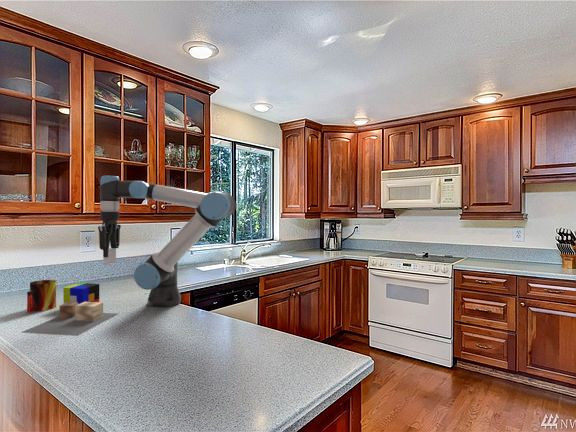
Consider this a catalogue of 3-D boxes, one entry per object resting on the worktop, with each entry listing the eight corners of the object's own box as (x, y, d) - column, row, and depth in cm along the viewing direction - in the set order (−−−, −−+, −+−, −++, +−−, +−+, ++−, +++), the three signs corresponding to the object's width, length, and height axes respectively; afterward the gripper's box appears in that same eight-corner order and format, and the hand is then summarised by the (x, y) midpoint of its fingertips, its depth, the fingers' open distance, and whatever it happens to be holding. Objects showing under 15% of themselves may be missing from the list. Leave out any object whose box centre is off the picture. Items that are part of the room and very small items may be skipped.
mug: (27, 315, 151) (26, 287, 150) (31, 307, 163) (31, 280, 162) (54, 312, 155) (54, 285, 155) (56, 304, 167) (56, 279, 167)
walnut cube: (77, 313, 153) (77, 302, 153) (72, 317, 148) (72, 305, 148) (65, 314, 152) (65, 302, 152) (59, 317, 147) (59, 305, 147)
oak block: (103, 316, 150) (103, 302, 150) (93, 321, 144) (93, 306, 144) (85, 315, 151) (85, 301, 150) (75, 320, 145) (75, 305, 145)
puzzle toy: (83, 311, 158) (83, 288, 157) (63, 309, 160) (63, 287, 159) (99, 305, 168) (99, 284, 167) (80, 303, 170) (80, 282, 169)
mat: (119, 314, 154) (119, 313, 154) (77, 336, 129) (77, 335, 129) (71, 311, 157) (71, 311, 157) (20, 333, 131) (20, 332, 131)
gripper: (112, 210, 169) (112, 260, 169) (89, 211, 152) (89, 266, 153) (128, 210, 168) (128, 260, 169) (106, 211, 151) (106, 267, 152)
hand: (109, 263), depth 161 cm, fingers open, 4 cm apart
